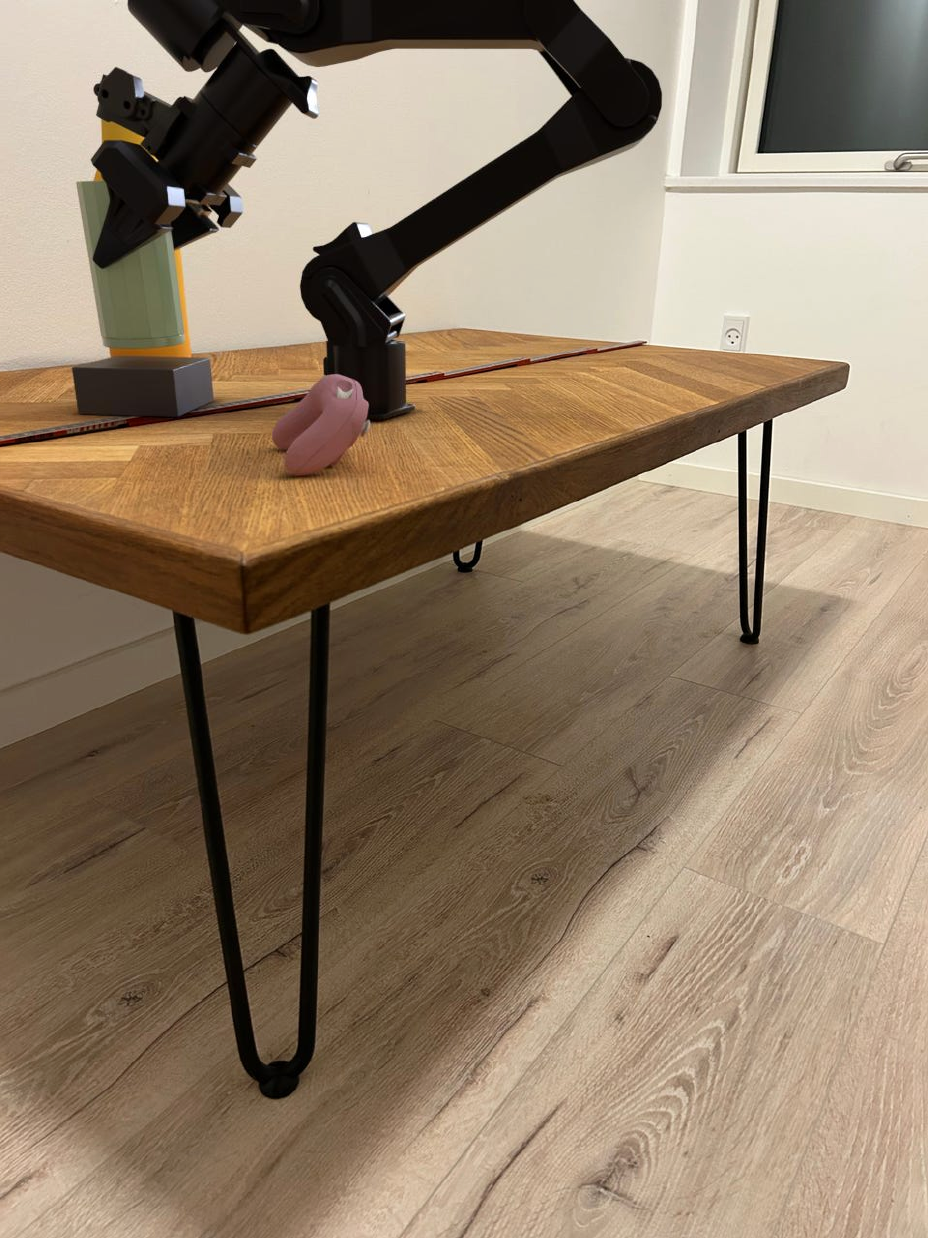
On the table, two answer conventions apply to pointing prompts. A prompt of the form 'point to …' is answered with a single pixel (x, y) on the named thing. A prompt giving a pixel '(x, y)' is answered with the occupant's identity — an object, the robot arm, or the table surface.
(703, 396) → the table surface
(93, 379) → the block
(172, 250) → the cup
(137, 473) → the table surface
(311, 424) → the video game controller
